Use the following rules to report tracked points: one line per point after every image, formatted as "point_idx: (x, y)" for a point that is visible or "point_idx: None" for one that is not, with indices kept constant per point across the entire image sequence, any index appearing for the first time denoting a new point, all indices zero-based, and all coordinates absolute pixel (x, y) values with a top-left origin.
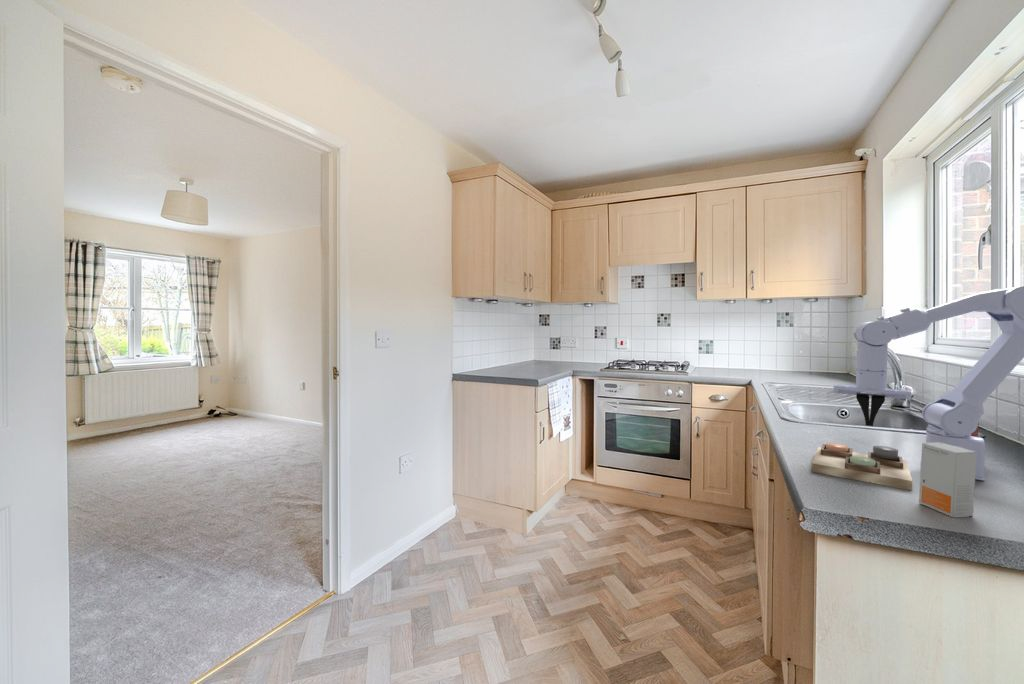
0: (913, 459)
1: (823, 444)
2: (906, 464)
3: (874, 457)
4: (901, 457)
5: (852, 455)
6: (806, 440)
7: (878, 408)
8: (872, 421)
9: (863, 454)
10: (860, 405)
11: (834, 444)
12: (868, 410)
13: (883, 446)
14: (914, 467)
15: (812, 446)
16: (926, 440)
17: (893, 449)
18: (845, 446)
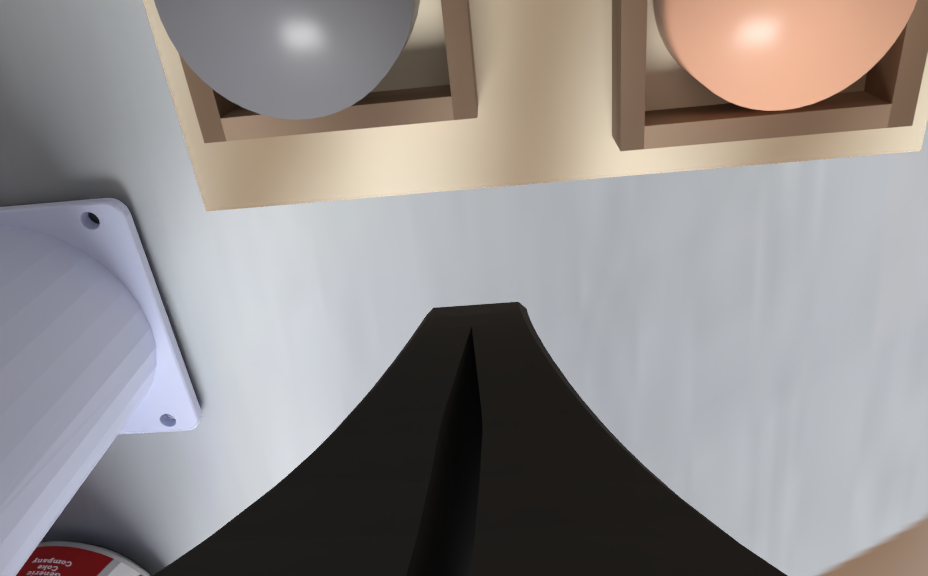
0: (260, 470)
1: (909, 101)
2: (169, 56)
3: (423, 86)
4: (197, 107)
5: (608, 25)
6: (918, 507)
7: (241, 520)
8: (425, 335)
9: (520, 159)
10: (716, 527)
11: (819, 40)
12: (488, 460)
13: (320, 98)
14: (205, 272)
15: (893, 367)
16: (16, 452)
17: (202, 7)
18: (701, 31)
